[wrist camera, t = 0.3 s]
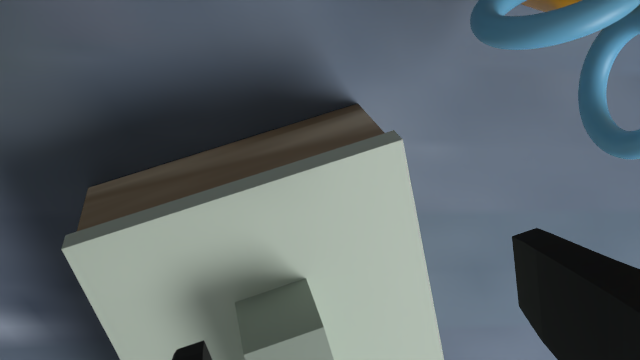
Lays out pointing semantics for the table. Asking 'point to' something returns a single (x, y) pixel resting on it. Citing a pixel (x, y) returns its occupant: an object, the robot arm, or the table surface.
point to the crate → (225, 164)
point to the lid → (271, 266)
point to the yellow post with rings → (563, 26)
